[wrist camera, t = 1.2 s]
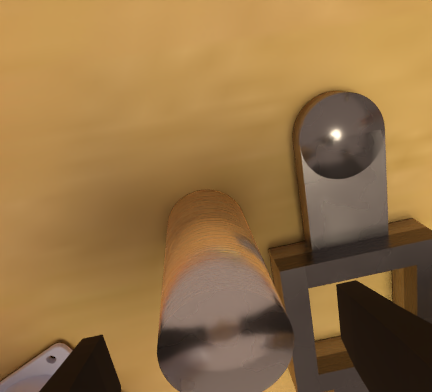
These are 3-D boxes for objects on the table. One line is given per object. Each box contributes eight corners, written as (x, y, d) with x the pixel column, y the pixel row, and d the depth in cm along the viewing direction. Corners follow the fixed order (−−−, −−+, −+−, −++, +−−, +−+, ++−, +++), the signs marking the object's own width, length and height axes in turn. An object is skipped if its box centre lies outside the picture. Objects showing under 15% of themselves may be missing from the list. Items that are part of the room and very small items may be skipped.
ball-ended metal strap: (415, 425, 25) (438, 460, 23) (300, 451, 25) (312, 488, 23) (411, 75, 18) (444, 75, 15) (246, 108, 18) (256, 114, 15)
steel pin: (198, 274, 20) (211, 423, 12) (151, 220, 19) (128, 342, 10) (259, 232, 20) (318, 356, 11) (215, 174, 18) (244, 263, 10)
